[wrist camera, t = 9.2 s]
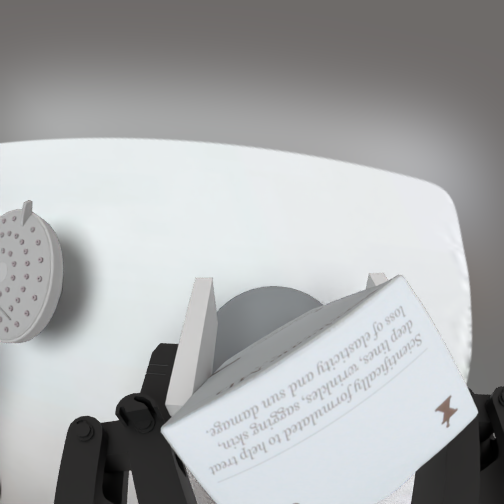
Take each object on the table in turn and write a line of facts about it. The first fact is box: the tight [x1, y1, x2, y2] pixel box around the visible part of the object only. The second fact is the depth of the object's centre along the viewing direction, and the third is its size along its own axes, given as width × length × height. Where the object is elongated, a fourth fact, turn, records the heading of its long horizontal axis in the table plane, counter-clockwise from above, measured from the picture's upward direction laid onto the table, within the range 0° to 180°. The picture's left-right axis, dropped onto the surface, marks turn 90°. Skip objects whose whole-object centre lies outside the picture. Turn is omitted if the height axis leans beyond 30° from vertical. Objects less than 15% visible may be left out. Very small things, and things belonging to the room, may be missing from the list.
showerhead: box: [0, 200, 63, 343], centre depth 19 cm, size 9×7×10 cm
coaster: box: [212, 286, 323, 374], centre depth 20 cm, size 10×10×1 cm
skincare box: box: [161, 275, 478, 504], centre depth 11 cm, size 6×4×12 cm
